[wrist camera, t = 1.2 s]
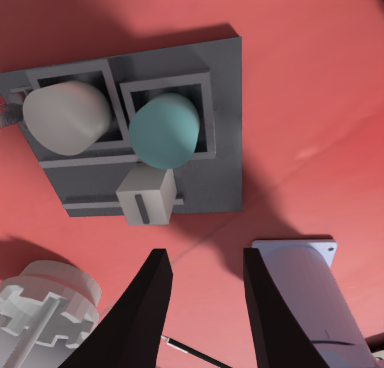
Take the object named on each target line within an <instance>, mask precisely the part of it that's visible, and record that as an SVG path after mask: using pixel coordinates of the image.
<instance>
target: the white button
mask: <svg viewBox="0 0 384 368" xmlns="http://www.w3.org/2000/svg"><path fill="white" fill-rule="evenodd" d="M23 116H24V120H25V123H26V125H27V127H28V129H29V131H30V132H31V134H32V135H33V136H34V137H35V139H36V140H37V141H38V142H39V143H41V144H42V145H43V146H44V147H46V148H47V149H49V150H51V151H53V152H55V153H58V154H61V155H67V156H71V155H77V154H79V153H81V152H83V151H84V150H85V149H87V148H88V147H89V146H90V145H92V144H93V143H94V142H95V141H96V140H98V139H99V138H100V137H101V136H103V135H104V134H105V133H106V132H107V131H108V130H109V128H110V126H111V123H112V112H111V108H110V105H109V103H108V101H107V99H106V98H105V96H104V95H103V94H102V93H101V92H100V91H99V90H98V89H97V88H96V87H95V86H93V85H92V84H90V83H88V82H85V81H81V80H71V81H67V82H63V83H59V84H55V85H52V86H48V87H44V88H40V89H37V90H34V91H32V92H31V93H29V95H28V96H27V97H26V98H25V101H24V104H23Z"/></svg>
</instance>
